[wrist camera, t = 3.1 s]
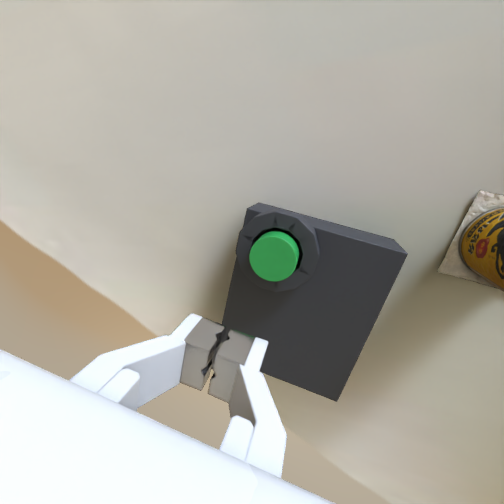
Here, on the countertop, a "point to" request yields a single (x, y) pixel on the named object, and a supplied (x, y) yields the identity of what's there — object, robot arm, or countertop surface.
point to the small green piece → (274, 256)
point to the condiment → (479, 243)
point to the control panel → (312, 297)
